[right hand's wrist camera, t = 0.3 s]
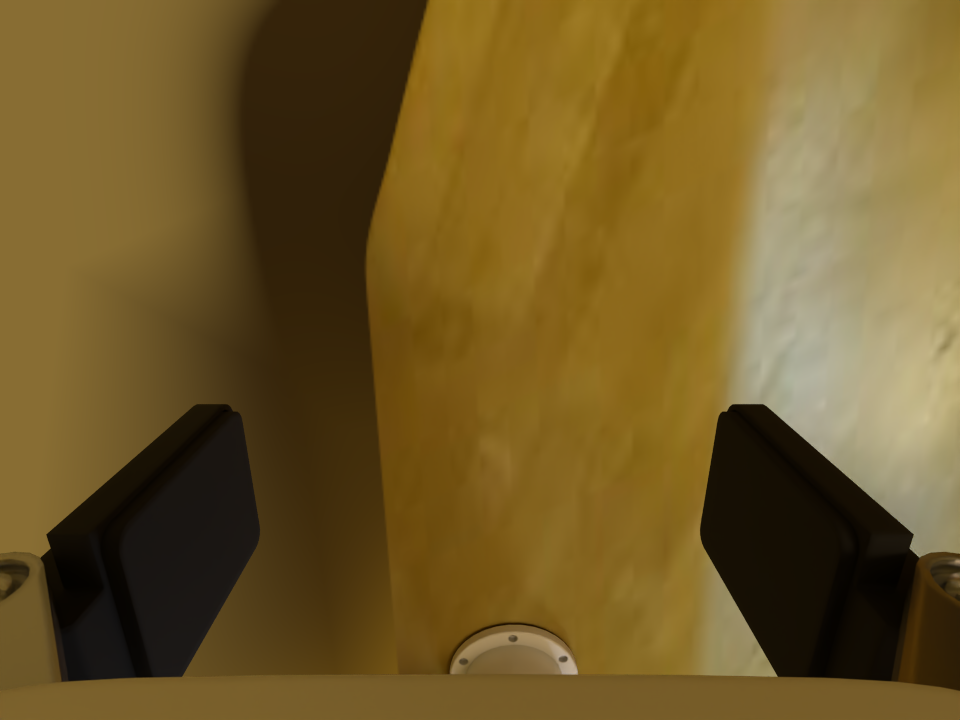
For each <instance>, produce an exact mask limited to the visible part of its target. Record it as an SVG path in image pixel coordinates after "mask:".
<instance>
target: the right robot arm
mask: <svg viewBox="0 0 960 720" xmlns="http://www.w3.org/2000/svg"><path fill="white" fill-rule="evenodd" d="M259 535H260V526H259V520H258V514H257V508H256V501H255V495H254V489H253V483H252V477H251V471H250V465H249V459H248V453H247V447H246V441H245V435H244V428H243V422H242V418H241V415H240V414H239V413H238V412H233V411H232V409H231V407H230V406H229V405H227V404H197V405H195V406H193V407H192V408H191V409H190V410H189V411H188V412H186V413H185V414H184V415H183V416H182V417H181V418H180V419H178V420H177V421H176V422H175V423H174V424H173V425H171V426H170V427H169V428H168V429H167V430H166V431H165V432H164V433H162V434H161V435H160V436H159V437H158V438H157V439H155V440H154V441H153V442H152V443H151V444H150V445H149V446H147V447H146V448H145V449H144V450H143V451H142V452H141V453H139V454H138V455H137V456H136V457H135V458H134V459H132V460H131V461H130V462H129V463H128V464H127V465H126V466H125V467H123V468H122V469H121V470H120V471H119V472H118V473H116V474H115V475H114V476H113V477H112V478H111V479H110V480H108V481H107V482H106V483H105V484H104V485H103V486H102V487H100V488H99V489H98V490H97V491H96V492H95V493H94V494H92V495H91V496H90V497H89V498H88V499H87V500H86V501H84V502H83V503H82V504H81V505H80V506H79V507H77V508H76V509H75V510H74V511H73V512H72V513H71V514H69V515H68V516H67V517H66V518H65V519H64V520H63V521H61V522H60V523H59V524H58V525H57V526H56V527H54V528H53V529H52V530H51V531H50V532H49V533H48V534H47V538H48V541H49V544H50V547H51V549H50V550H49V551H47V552H46V553H45V554H44V555H43V556H42V557H41V558H40V557H38V556H36V555H33V554H31V553H24V552H11V553H3V554H0V720H960V554H957V553H949V552H936V553H929V554H927V555H924V556H922V557H920V558H919V557H918V556H917V555H916V554H915V553H914V552H913V551H911V550H910V549H909V547H910V544H911V541H912V538H913V535H914V534H912V533H911V532H910V531H909V530H908V529H907V528H906V527H904V526H903V525H902V524H901V523H900V522H899V521H898V520H896V519H895V518H894V517H893V516H892V515H891V514H889V513H888V512H887V511H886V510H885V509H884V508H883V507H881V506H880V505H879V504H878V503H877V502H876V501H875V500H873V499H872V498H871V497H870V496H869V495H868V494H867V493H865V492H864V491H863V490H862V489H861V488H860V487H858V486H857V485H856V484H855V483H854V482H853V481H852V480H850V479H849V478H848V477H847V476H846V475H845V474H844V473H842V472H841V471H840V470H839V469H838V468H837V467H836V466H834V465H833V464H832V463H831V462H830V461H829V460H828V459H826V458H825V457H824V456H823V455H822V454H821V453H819V452H818V451H817V450H816V449H815V448H814V447H813V446H811V445H810V444H809V443H808V442H807V441H806V440H805V439H803V438H802V437H801V436H800V435H799V434H798V433H797V432H795V431H794V430H793V429H792V428H791V427H790V426H788V425H787V424H786V423H785V422H784V421H783V420H782V419H780V418H779V417H778V416H777V415H776V414H775V413H774V412H772V411H771V410H770V409H769V408H768V407H767V406H765V405H763V404H733V405H731V406H730V407H729V409H728V411H727V412H722V413H720V415H719V418H718V422H717V428H716V434H715V440H714V447H713V453H712V459H711V465H710V471H709V477H708V483H707V489H706V495H705V501H704V507H703V514H702V520H701V526H700V536H701V541H702V544H703V546H704V549H705V550H706V552H707V554H708V555H709V557H710V559H711V561H712V562H713V564H714V566H715V568H716V569H717V571H718V573H719V575H720V576H721V578H722V580H723V582H724V583H725V585H726V587H727V589H728V590H729V592H730V594H731V596H732V597H733V599H734V601H735V603H736V604H737V606H738V608H739V610H740V611H741V613H742V615H743V617H744V618H745V620H746V622H747V624H748V625H749V627H750V629H751V631H752V632H753V634H754V636H755V638H756V639H757V641H758V643H759V645H760V646H761V648H762V650H763V651H764V653H765V655H766V657H767V658H768V660H769V662H770V664H771V665H772V667H773V669H774V671H775V672H776V674H777V676H778V677H755V676H705V675H578V671H577V666H576V661H575V658H574V656H573V654H572V652H571V650H570V649H569V647H568V646H567V645H566V644H565V643H564V642H563V641H562V640H561V639H559V638H558V637H557V636H555V635H553V634H551V633H550V632H548V631H546V630H543V629H540V628H536V627H533V626H526V625H503V626H496V627H493V628H489V629H486V630H484V631H481V632H479V633H477V634H475V635H473V636H472V637H471V638H469V639H468V640H466V641H465V642H464V643H463V644H462V645H461V646H460V647H459V648H458V650H457V651H456V653H455V655H454V656H453V658H452V662H451V665H450V674H392V675H391V674H390V675H389V674H388V675H255V676H205V677H182V676H183V674H184V672H185V671H186V669H187V667H188V665H189V664H190V662H191V660H192V658H193V657H194V655H195V653H196V651H197V650H198V648H199V646H200V644H201V643H202V641H203V639H204V638H205V636H206V634H207V632H208V630H209V629H210V627H211V625H212V624H213V622H214V620H215V618H216V617H217V615H218V613H219V611H220V609H221V608H222V606H223V604H224V603H225V601H226V599H227V597H228V596H229V594H230V592H231V590H232V589H233V587H234V585H235V583H236V582H237V580H238V578H239V576H240V575H241V573H242V571H243V569H244V568H245V566H246V564H247V562H248V561H249V559H250V557H251V555H252V554H253V552H254V550H255V549H256V546H257V544H258V541H259Z"/></svg>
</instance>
